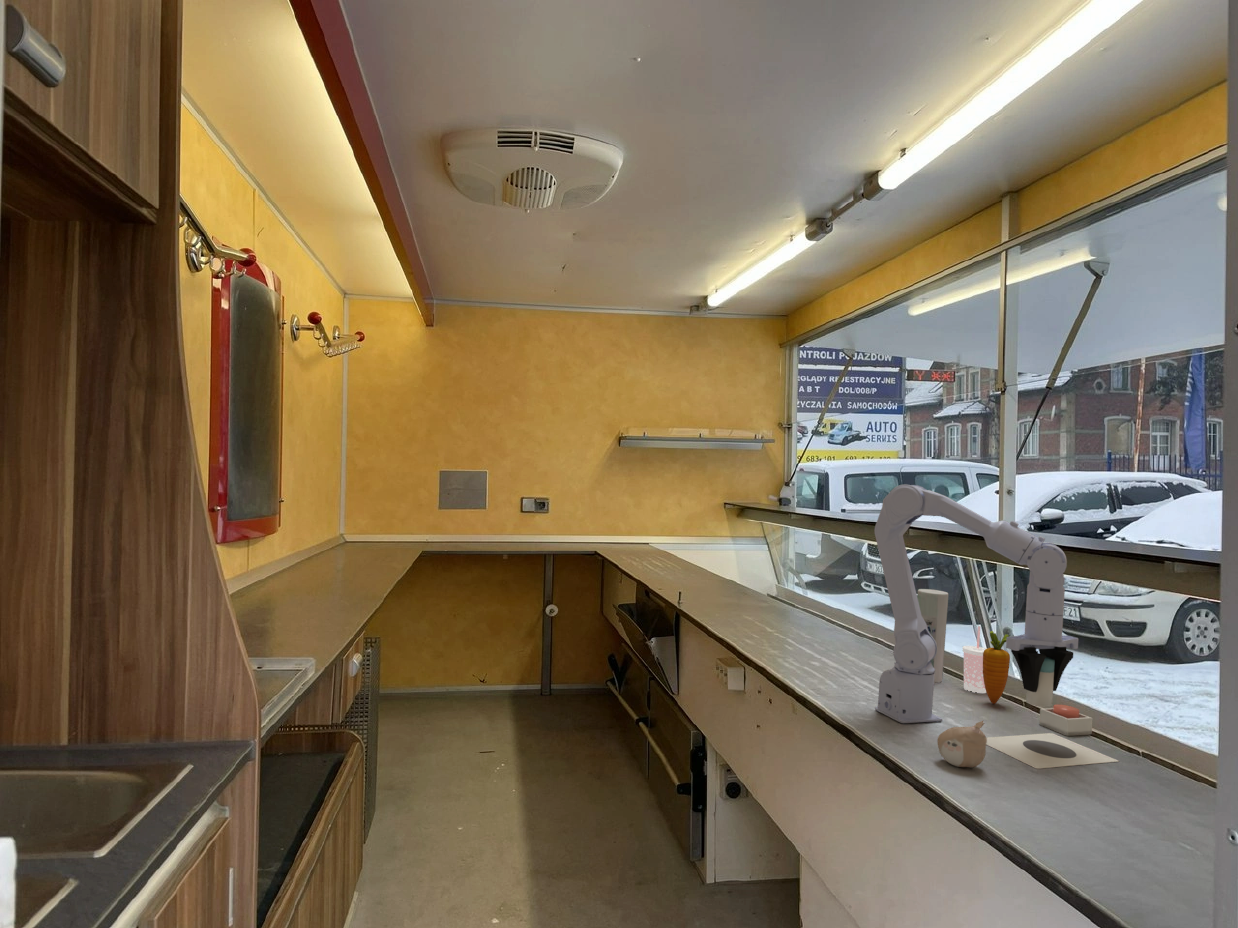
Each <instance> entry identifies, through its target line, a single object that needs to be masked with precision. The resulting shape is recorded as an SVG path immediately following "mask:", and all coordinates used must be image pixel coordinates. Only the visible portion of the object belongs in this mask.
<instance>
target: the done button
mask: <svg viewBox="0 0 1238 928" xmlns="http://www.w3.org/2000/svg"><path fill="white" fill-rule="evenodd" d="M1052 708H1053V713H1055V714H1057V715H1060V716H1063V717H1065V718H1068V719H1069V718H1079V713H1080V709H1079V708H1077V707H1075V706H1070V705H1066V704H1054V705H1052Z"/></svg>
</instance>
